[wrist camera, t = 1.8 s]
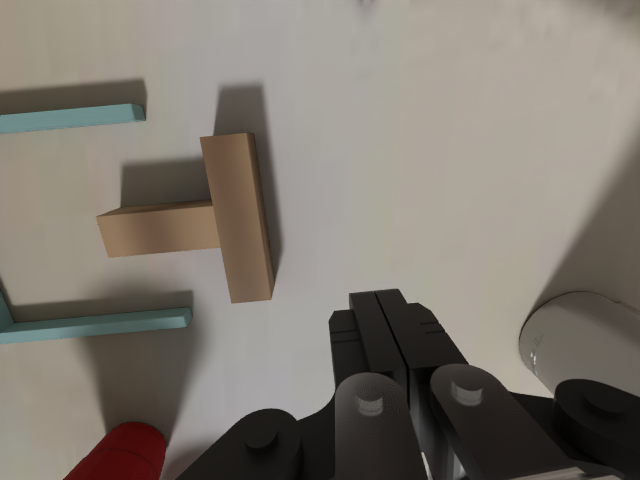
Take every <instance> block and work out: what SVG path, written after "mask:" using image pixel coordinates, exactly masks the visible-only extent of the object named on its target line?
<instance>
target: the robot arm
mask: <svg viewBox="0 0 640 480" xmlns="http://www.w3.org/2000/svg"><path fill="white" fill-rule="evenodd" d="M349 306H350V309H349V310H339V311H334V313H333V314H332V316H331V318H330V319H329V331H330V342H331V352H332V363H333V372H334V381H335V393H334V395H333V397H332V399H331V400H330V402H329V403H328V404H327V405H326V406H325V407H324V408H323V409H321V410H320V411H318V412H317V413H314V414H312V415H310V416H308V417H305V418H303V419H300V420H298V421H297V420H296V419H295V418H294V417H293V416H292V415H291V414H289V413H288V412H286V411H283V410H280V409H272V408H270V409H262V410H258V411H255V412H252V413H250V414H248V415H246V416H245V417H243V418H242V419H240V420H239V421H238V422H237V423H235V424H234V425H233V426H232V427H231V428H230V429H229V430H228V431H227V432H226V433H225V434H224V435H223V436H222V437H220V438H219V439H218V440H217V441H216V442H215V443H214V444H213V445H212V446H211V447H210V448H209V449H208V450H207V451H205V452H204V453H203V454H202V455H201V456H200V457H199V458H198V459H197V460H196V461H195V462H194V463H193V464H192V465H190V466H189V467H188V468H187V469H186V470H185V471H184V472H183V473H182V474H181V475H180V476H179V477H178V478H177V479H175V480H640V311H639V310H637V309H635V308H633V307H631V306H629V305H627V304H625V303H614V302H613V301H611V300H609V299H607V298H605V297H603V296H601V295H598V294H595V293H590V292H573V293H569V294H565V295H561V296H559V297H557V298H555V299H552V300H550V301H549V302H547V303H546V304H544V305H543V306H541V307H540V308H539V309H538V310H537V311H536V312H535V313H534V314H533V315H532V316H531V317H530V319H529V320H528V321H527V323H526V324H525V326H524V328H523V330H522V333H521V337H520V341H519V351H520V355H521V359H522V360H523V362H524V364H525V365H526V366H527V367H528V368H529V370H530V371H531V372H532V373H533V374H534V375H535V376H536V377H537V378H538V379H539V380H540V381H541V382H542V383H543V384H544V385H545V386H546V388H547V389H548V390H549V391H550V392H551V393H552V394H553V395H554V399H553V398H546V397H539V396H532V395H525V394H519V393H514V392H510V391H508V390H507V389H506V388H505V387H504V386H503V385H502V383H501V382H500V381H499V380H498V379H497V378H496V377H494V376H493V375H492V374H490V373H488V372H487V371H485V370H483V369H480V368H478V367H475V366H471V365H469V363H468V362H467V361H466V359H465V358H464V356H463V355H462V354H461V352H460V351H459V349H458V348H457V347H456V345H455V344H454V342H453V341H452V340H451V338H450V337H449V335H448V334H447V333H445V330H444V328H443V327H442V326H441V324H439V321H438V320H437V319H436V317H435V316H434V314H433V313H432V312H431V311H430V310H429V309H427V308H426V307H424V306H422V305H421V304H419V303H409V304H407V302H406V300H405V299H404V297H403V295H402V294H401V292H400V290H399V289H387V290H377V291H374V292H373V291H368V292H358V293H349ZM421 452H424V455H425V457H426V460H427V463H428V465H429V476H427V472H426V469H425V465H424V461H423V458H422V454H421Z"/></svg>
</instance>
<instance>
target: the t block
mask: <svg viewBox="0 0 640 480" xmlns="http://www.w3.org/2000/svg"><path fill="white" fill-rule="evenodd" d="M200 142H201V147H202V152H203V157H204V163H205V168H206V173H207V178H208V183H209V189H210V194H211V199H209V200H198V201H187V202H176V203H165V204H154V205H143V206H132V207H121V208H118V209H115V210H113V211H110V212H107V213H105V214H102V215H99V216H97V217H96V219H97V222H98V225H99V229H100V232H101V235H102V238H103V241H104V245H105V248H106V251H107V254H108V258H111V257H122V256H133V255H144V254H154V253H165V252H176V251H187V250H198V249H209V248H220V247H221V251H222V256H223V262H224V267H225V272H226V277H227V282H228V288H229V293H230V298H231V303H242V302H253V301H264V300H271V298H272V294H273V290H274V285H275V278H274V271H273V264H272V257H271V250H270V243H269V236H268V229H267V222H266V215H265V208H264V201H263V194H262V187H261V180H260V173H259V166H258V159H257V152H256V145H255V138H254V133H240V134H229V135H218V136H207V137H200Z"/></svg>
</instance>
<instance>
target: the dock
mask: <svg viewBox="0 0 640 480" xmlns="http://www.w3.org/2000/svg"><path fill="white" fill-rule="evenodd" d="M137 121H146V120H145V116H144V112H143V108H142V106H141V105H136V104H120V105H109V106H98V107H87V108H76V109H65V110H54V111H43V112H31V113H20V114H9V115H0V134H4V133H15V132H27V131H38V130H49V129H60V128H71V127H82V126H93V125H104V124H115V123H126V122H137ZM191 319H192V314H191V310H190V307H185V308H174V309H163V310H152V311H141V312H131V313H120V314H109V315H98V316H87V317H77V318H66V319H55V320H44V321H33V322H23V323H14V321H13V319H12V316H11V314H10V312H9V309H8V307H7V305H6V303H5V300H4V298H3V296H2V293H1V291H0V344H8V343H19V342H30V341H41V340H51V339H62V338H73V337H84V336H94V335H105V334H116V333H127V332H138V331H148V330H159V329H170V328H181V327H186V326H187V325H188V323H189V322H190V320H191Z"/></svg>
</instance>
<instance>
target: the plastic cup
mask: <svg viewBox="0 0 640 480" xmlns="http://www.w3.org/2000/svg"><path fill="white" fill-rule="evenodd" d="M165 453H166V441H165V439H164V437H163V435H162V434H161V433H160V432H159V431H157V430H156V429H155V428H154V427H151V426H149V425H146V424H144V423H136V422H129V423H124V424H120V425H119V426H117V427H116V428H114V429H113V430H112V431H111V432H110V433H108V434H106V436H105V437H104V438H103V439H102V440H101V441H100V442H99V443H98V444H97V445H96V447H95V448H94V449H93V450H92V451H91V452H90V453H89V454H88V455H87V456H86V457H85V458H83V459H82V460H81V461H80V462H79V463H78V464H77V465H76V466H75V468H74V469H73V470H72V471H71V472H70V473H69V474H68V475H67V476H66V477H65V478H64V479H63V480H159V478H160V474H161V471H162V467H163V464H164V460H165Z"/></svg>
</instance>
